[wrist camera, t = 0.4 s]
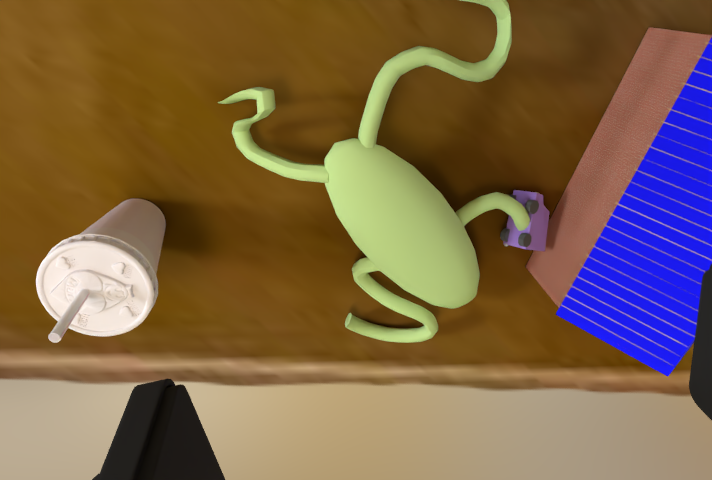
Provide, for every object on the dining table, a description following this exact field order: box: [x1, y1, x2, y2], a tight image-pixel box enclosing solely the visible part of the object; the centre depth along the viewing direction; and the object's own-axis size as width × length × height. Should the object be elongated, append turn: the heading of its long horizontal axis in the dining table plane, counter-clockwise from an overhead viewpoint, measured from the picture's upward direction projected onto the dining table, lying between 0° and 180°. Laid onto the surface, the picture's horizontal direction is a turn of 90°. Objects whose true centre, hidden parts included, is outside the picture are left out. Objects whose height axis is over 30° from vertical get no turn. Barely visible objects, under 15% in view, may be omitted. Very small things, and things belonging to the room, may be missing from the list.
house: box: [526, 27, 712, 376], centre depth 36 cm, size 12×20×12 cm, turn 161°
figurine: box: [218, 0, 549, 343], centre depth 37 cm, size 18×27×6 cm
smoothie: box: [36, 199, 166, 342], centre depth 33 cm, size 6×6×14 cm
